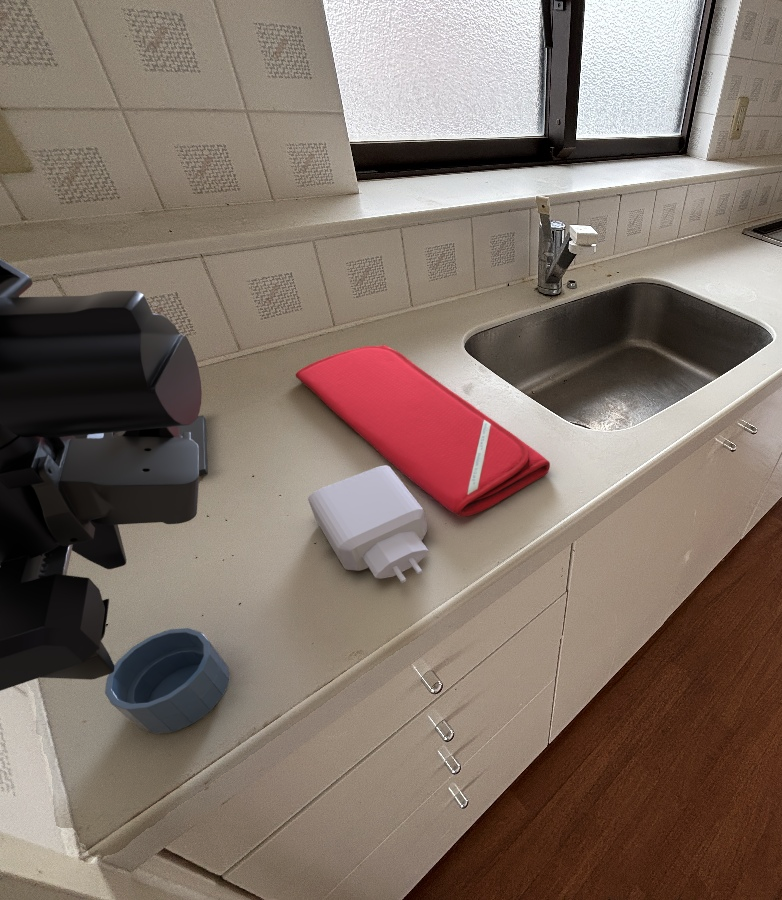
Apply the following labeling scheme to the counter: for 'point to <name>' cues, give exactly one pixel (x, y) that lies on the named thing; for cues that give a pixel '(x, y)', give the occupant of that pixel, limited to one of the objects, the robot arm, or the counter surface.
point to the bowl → (168, 680)
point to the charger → (372, 523)
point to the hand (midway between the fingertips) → (111, 615)
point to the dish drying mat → (424, 428)
